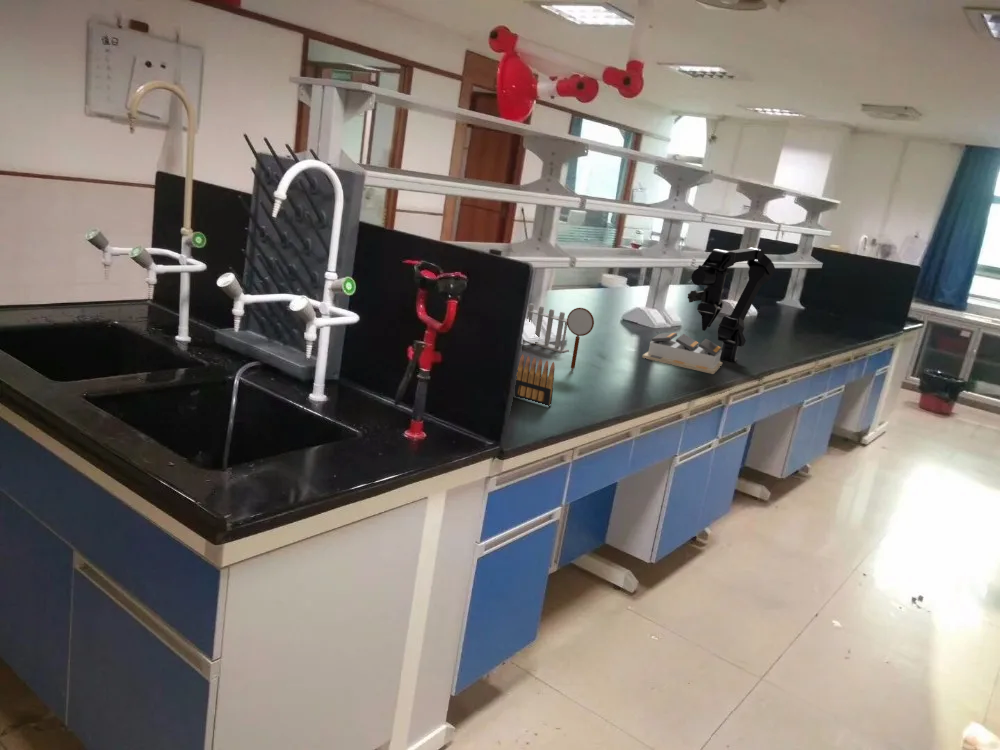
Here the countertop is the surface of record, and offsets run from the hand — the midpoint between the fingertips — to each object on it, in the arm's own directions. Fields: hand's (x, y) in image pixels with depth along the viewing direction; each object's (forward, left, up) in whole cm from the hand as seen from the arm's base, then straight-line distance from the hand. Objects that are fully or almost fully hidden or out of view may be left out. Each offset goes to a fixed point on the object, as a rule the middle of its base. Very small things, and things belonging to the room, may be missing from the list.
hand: (705, 328), depth 267 cm
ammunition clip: (+96, -26, -12) cm, 100 cm away
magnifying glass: (+56, -29, -12) cm, 64 cm away
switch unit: (+7, -5, -12) cm, 15 cm away
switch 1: (+6, -13, -6) cm, 15 cm away
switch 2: (+6, +3, -6) cm, 9 cm away
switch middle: (+6, -5, -6) cm, 9 cm away
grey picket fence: (+31, -52, -12) cm, 61 cm away
